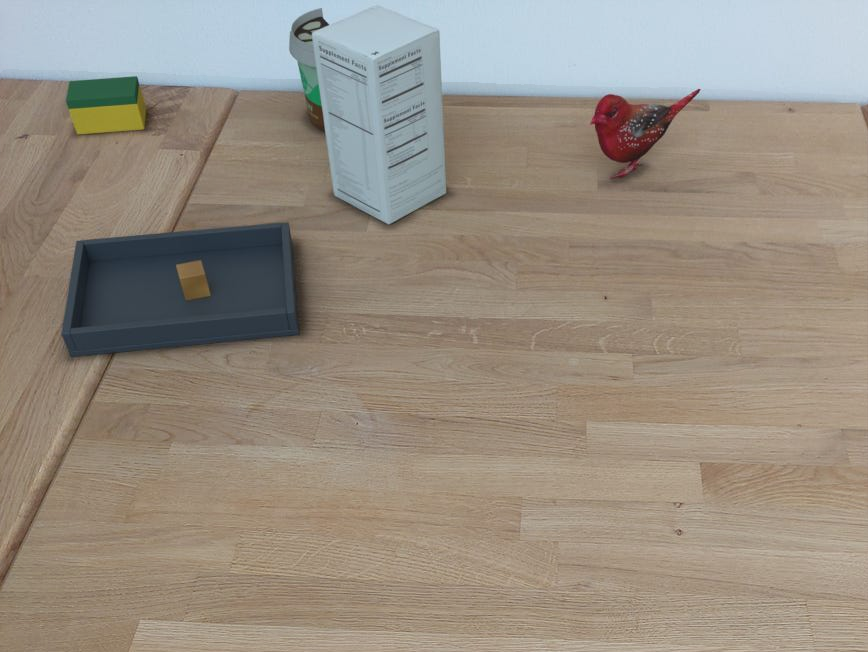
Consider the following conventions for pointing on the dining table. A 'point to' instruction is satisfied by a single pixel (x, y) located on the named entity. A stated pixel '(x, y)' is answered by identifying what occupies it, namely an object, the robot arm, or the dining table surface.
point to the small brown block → (193, 280)
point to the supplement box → (382, 111)
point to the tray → (180, 290)
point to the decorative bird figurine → (632, 127)
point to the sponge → (106, 105)
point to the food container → (308, 61)
